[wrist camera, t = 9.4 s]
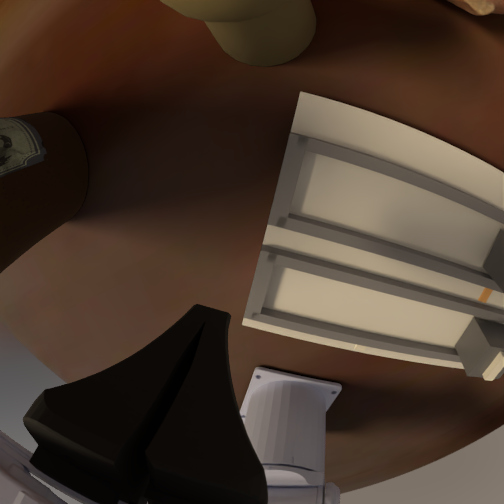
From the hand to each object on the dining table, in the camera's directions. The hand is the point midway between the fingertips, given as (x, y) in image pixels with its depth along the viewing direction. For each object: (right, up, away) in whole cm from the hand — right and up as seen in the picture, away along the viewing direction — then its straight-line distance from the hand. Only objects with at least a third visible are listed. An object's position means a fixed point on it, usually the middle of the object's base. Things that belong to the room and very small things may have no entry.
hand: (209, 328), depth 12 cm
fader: (+20, -4, +8) cm, 22 cm away
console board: (+15, +2, +8) cm, 17 cm away
